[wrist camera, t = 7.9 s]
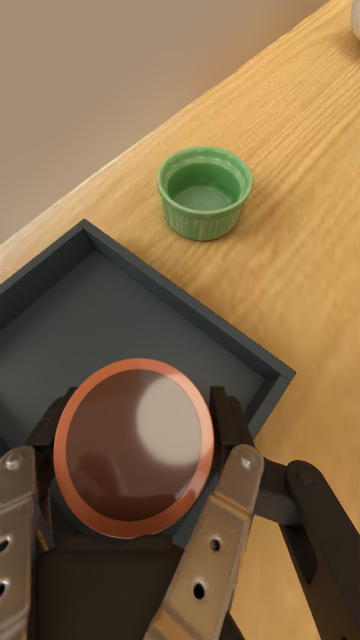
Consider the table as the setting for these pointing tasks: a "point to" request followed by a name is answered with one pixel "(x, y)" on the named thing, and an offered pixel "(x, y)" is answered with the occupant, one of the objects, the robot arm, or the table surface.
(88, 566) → the robot arm
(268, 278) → the table surface
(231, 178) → the ramekin
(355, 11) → the cereal bowl
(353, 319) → the table surface
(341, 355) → the table surface
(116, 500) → the cup
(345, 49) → the table surface
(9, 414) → the tray
